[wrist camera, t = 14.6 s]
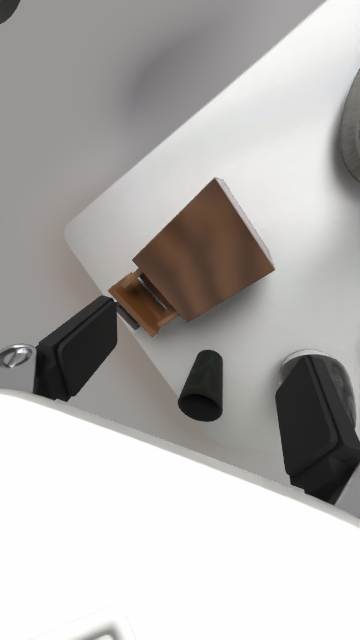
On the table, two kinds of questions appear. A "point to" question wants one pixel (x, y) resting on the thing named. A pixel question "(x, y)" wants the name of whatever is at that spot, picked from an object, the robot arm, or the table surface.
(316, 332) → the table surface
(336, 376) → the pump dispenser
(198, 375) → the cup
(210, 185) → the cabinet
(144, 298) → the drawer
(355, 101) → the flying saucer
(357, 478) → the robot arm
